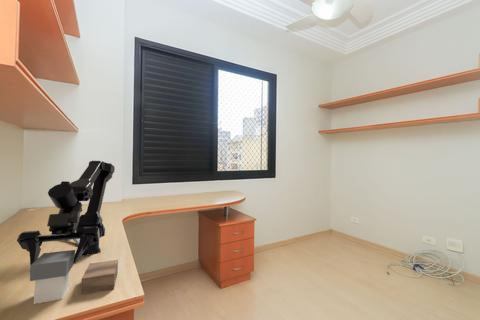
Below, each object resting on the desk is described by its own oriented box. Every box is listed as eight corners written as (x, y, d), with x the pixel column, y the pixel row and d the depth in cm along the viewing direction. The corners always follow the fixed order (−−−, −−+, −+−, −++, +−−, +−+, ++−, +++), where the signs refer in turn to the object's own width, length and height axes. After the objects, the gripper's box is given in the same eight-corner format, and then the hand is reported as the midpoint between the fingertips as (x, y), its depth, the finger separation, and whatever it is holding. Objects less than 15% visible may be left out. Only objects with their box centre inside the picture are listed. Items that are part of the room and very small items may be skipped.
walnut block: (88, 277, 69) (89, 263, 69) (117, 273, 72) (118, 259, 72) (80, 295, 59) (81, 278, 60) (114, 289, 63) (114, 273, 63)
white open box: (44, 290, 61) (46, 255, 61) (69, 286, 63) (71, 252, 64) (33, 304, 55) (36, 264, 55) (61, 299, 58) (64, 261, 58)
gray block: (42, 267, 62) (43, 253, 62) (74, 263, 65) (75, 249, 65) (29, 281, 54) (30, 265, 54) (66, 275, 57) (66, 260, 57)
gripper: (22, 203, 61) (-5, 258, 50) (100, 200, 69) (90, 247, 58) (33, 224, 68) (11, 276, 57) (102, 220, 75) (95, 265, 65)
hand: (53, 266), depth 59 cm, fingers open, 9 cm apart
